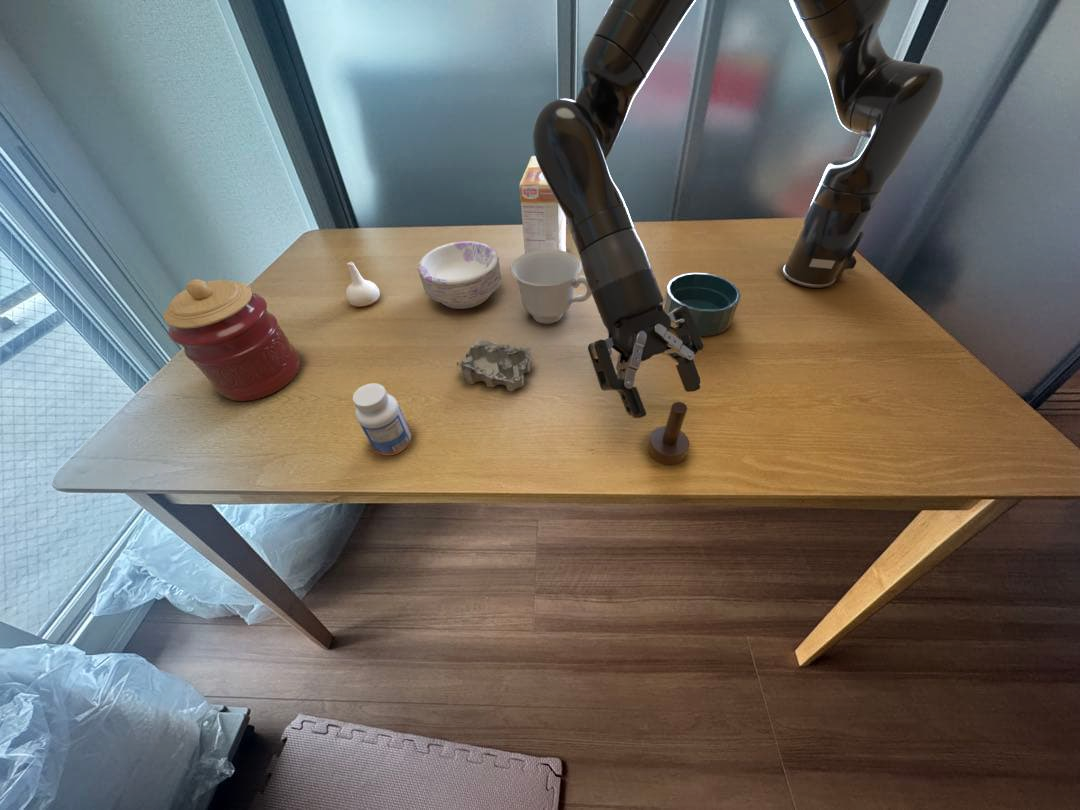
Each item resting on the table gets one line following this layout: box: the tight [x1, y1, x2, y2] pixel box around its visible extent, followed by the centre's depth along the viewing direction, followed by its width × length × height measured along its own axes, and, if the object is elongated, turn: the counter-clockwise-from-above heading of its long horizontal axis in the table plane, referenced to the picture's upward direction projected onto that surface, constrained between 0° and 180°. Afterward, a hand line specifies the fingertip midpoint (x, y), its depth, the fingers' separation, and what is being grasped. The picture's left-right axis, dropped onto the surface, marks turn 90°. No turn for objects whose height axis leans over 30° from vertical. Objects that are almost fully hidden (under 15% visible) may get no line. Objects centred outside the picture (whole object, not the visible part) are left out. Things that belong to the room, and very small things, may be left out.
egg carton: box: [456, 339, 532, 392], centre depth 66 cm, size 11×8×4 cm
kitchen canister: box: [163, 279, 301, 402], centre depth 63 cm, size 13×13×18 cm
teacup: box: [510, 249, 592, 325], centre depth 74 cm, size 12×15×10 cm
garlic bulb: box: [345, 261, 381, 307], centre depth 81 cm, size 6×6×8 cm
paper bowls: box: [417, 240, 502, 310], centre depth 81 cm, size 15×15×8 cm
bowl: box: [662, 272, 742, 337], centre depth 73 cm, size 12×12×6 cm
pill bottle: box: [352, 382, 412, 456], centre depth 55 cm, size 6×5×10 cm
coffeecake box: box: [518, 155, 567, 254], centre depth 83 cm, size 15×7×20 cm, turn 172°
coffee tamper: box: [647, 401, 690, 466], centre depth 53 cm, size 5×5×8 cm
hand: (667, 403), depth 51 cm, fingers open, 8 cm apart
